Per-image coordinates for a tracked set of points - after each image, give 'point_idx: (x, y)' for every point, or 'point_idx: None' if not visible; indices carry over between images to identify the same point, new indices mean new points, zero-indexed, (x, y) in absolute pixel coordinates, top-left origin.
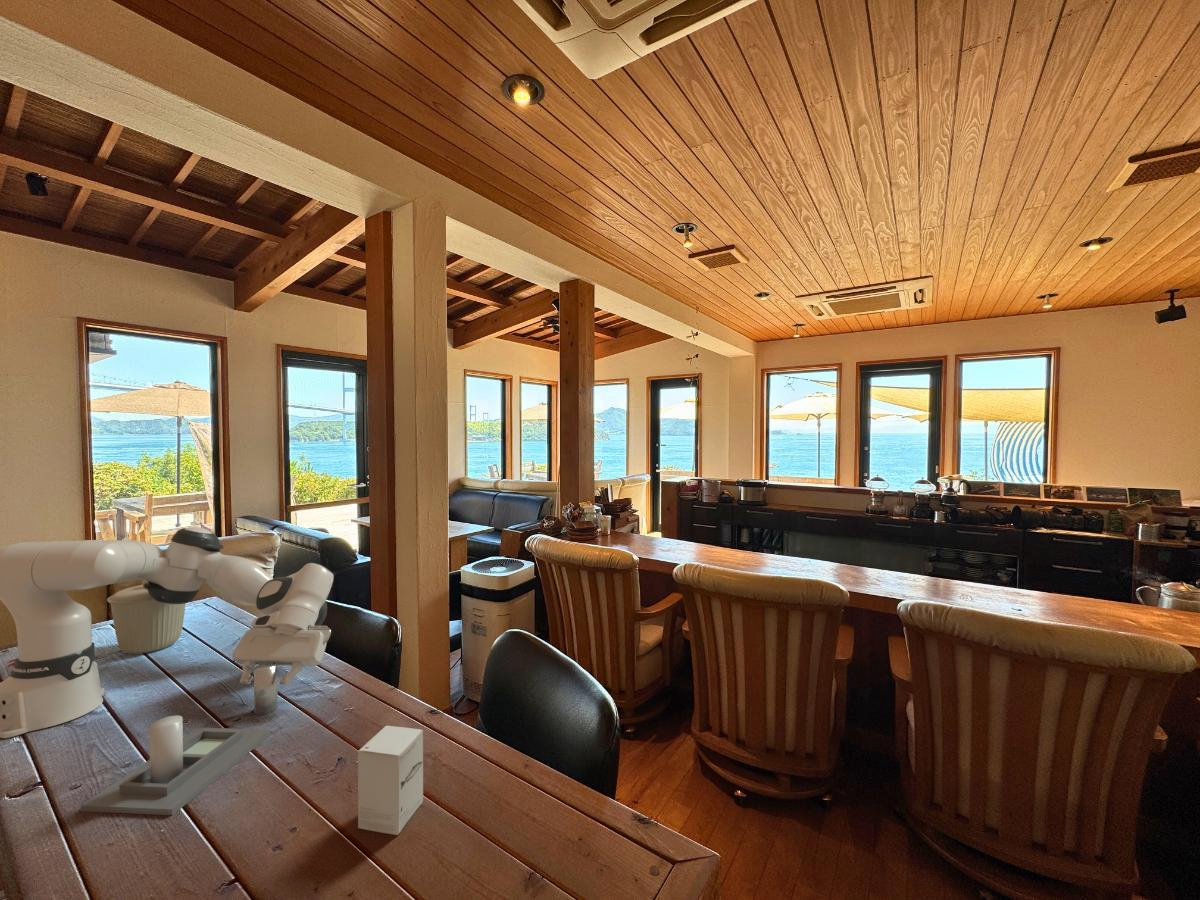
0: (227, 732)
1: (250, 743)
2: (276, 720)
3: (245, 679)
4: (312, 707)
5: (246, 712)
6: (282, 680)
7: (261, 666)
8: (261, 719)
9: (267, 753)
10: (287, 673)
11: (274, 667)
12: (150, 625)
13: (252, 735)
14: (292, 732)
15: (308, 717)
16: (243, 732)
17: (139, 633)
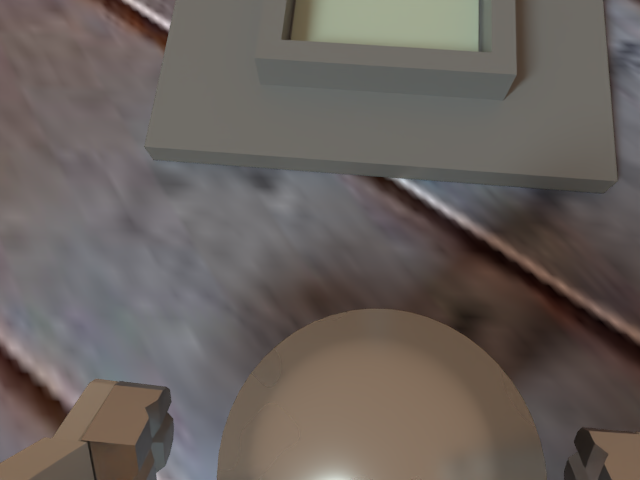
0: (335, 43)
1: (186, 36)
2: (201, 304)
3: (604, 437)
4: None
5: None
6: (130, 390)
7: (452, 475)
8: (308, 319)
9: (88, 21)
10: (69, 449)
11: (223, 449)
12: None
13: (218, 97)
14: (41, 178)
15: (7, 332)
16: (291, 127)
17: None
